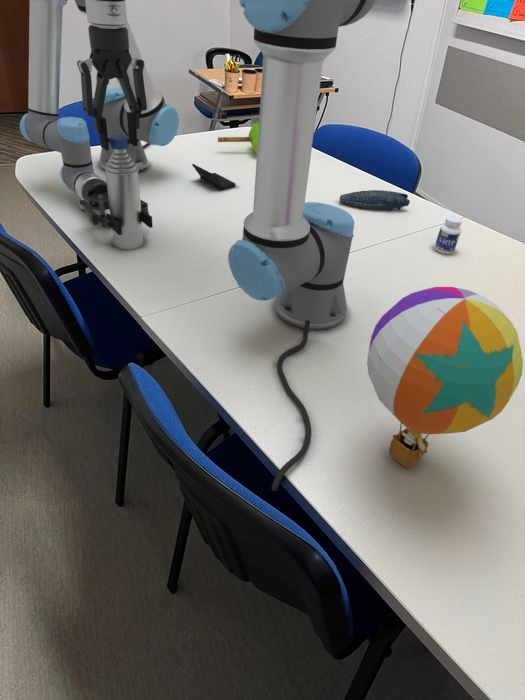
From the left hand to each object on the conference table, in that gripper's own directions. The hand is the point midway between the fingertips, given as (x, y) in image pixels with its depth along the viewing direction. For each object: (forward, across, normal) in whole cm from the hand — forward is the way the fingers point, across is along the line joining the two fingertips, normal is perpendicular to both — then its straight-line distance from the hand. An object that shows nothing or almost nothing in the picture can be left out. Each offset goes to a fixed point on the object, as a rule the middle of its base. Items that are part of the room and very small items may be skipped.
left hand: (135, 225), depth 124 cm
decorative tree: (-44, -71, -7) cm, 84 cm away
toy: (+81, -4, -7) cm, 82 cm away
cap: (-5, 0, +19) cm, 19 cm away
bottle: (-5, 0, -7) cm, 8 cm away
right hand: (-5, 0, +17) cm, 18 cm away
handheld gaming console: (-27, -40, -7) cm, 49 cm away
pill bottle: (+40, -70, -7) cm, 81 cm away
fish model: (+10, -74, -7) cm, 75 cm away
